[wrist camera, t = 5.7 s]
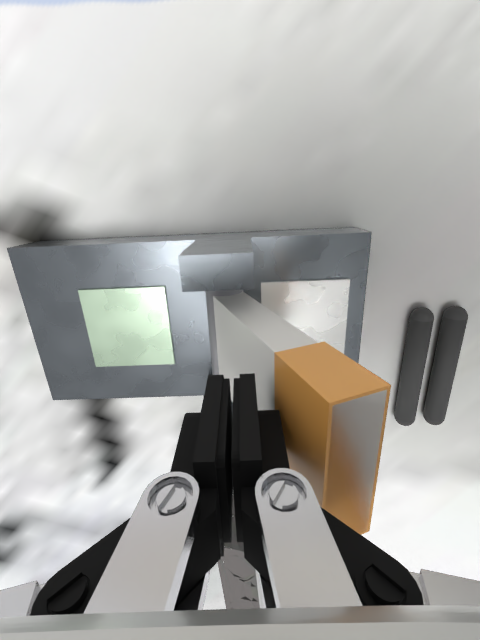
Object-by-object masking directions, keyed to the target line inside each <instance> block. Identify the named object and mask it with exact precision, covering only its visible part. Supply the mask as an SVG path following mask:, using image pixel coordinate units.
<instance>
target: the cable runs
mask: <svg viewBox="0 0 480 640" xmlns="http://www.w3.org/2000/svg"><path fill="white" fill-rule="evenodd" d="M467 319H468V314H467V312H466V310H465V309H463V308H462V307H459V306H452V307H449V308H447V309H446V310H445V311H444V313H443V316H442V321H441V326H440V331H439V336H438V341H437V346H436V351H435V357H434V362H433V367H432V372H431V377H430V382H429V387H428V392H427V397H426V402H425V407H424V412H423V416H424V418H425V420H426V421H427V422H428V423H430V424H433V425H439V424H441V423H442V422H443V421H444V419H445V415H446V411H447V406H448V402H449V398H450V393H451V389H452V385H453V380H454V376H455V371H456V367H457V363H458V358H459V354H460V350H461V345H462V341H463V337H464V332H465V328H466V324H467ZM433 320H434V315H433V313H432V312H431V311H430V310H429V309H427V308H424V307H420V308H416V309H415V310H413V311H412V312H411V314H410V319H409V325H408V331H407V338H406V344H405V350H404V356H403V363H402V369H401V375H400V382H399V388H398V394H397V401H396V407H395V413H394V416H395V419H396V421H397V422H398V423H399V424H401V425H404V426H408V425H411V424H412V423H413V422H414V420H415V416H416V411H417V405H418V400H419V395H420V389H421V384H422V379H423V373H424V368H425V363H426V358H427V352H428V347H429V342H430V336H431V331H432V326H433Z"/></svg>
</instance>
